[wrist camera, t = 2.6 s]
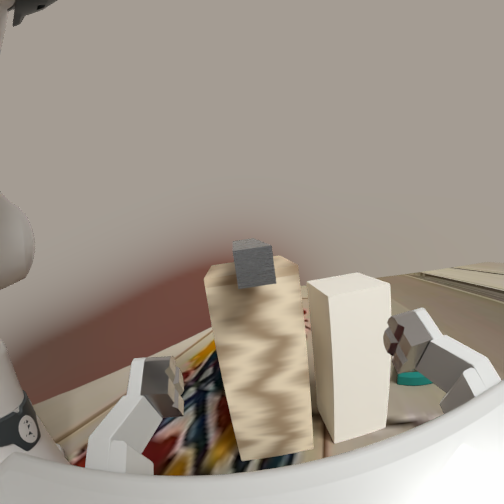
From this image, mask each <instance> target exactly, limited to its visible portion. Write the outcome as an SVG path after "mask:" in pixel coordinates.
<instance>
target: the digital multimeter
mask: <svg viewBox="0 0 504 504" xmlns="http://www.w3.org/2000/svg"><path fill="white" fill-rule="evenodd" d="M431 383H433V382H431V381H430V380H429V379H427V378H426V377H425V376H423V375H422V374H421V373H420V372H418V371H417V370H416V368H415V369H412V370H409V371H406V372H403V373H400V374H398V378H397V384H399V385H411V386H415V385H426V384H431Z"/></svg>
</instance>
